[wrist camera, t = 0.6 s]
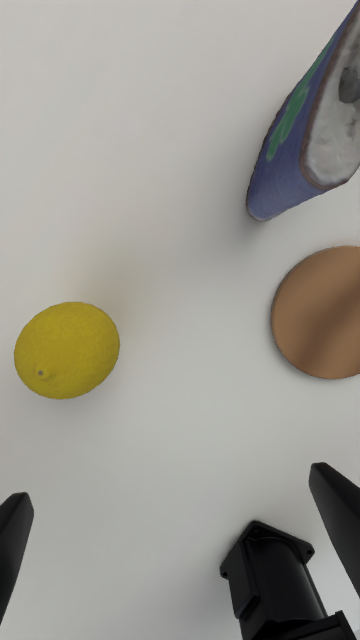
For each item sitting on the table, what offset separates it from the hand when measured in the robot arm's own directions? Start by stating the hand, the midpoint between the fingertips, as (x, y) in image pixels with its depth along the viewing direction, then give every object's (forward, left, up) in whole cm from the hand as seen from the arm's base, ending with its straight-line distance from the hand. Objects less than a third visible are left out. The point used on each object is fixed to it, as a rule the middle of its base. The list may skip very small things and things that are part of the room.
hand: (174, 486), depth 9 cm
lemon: (+6, +1, -13) cm, 14 cm away
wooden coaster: (-9, -8, -13) cm, 18 cm away
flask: (0, -16, -13) cm, 20 cm away
